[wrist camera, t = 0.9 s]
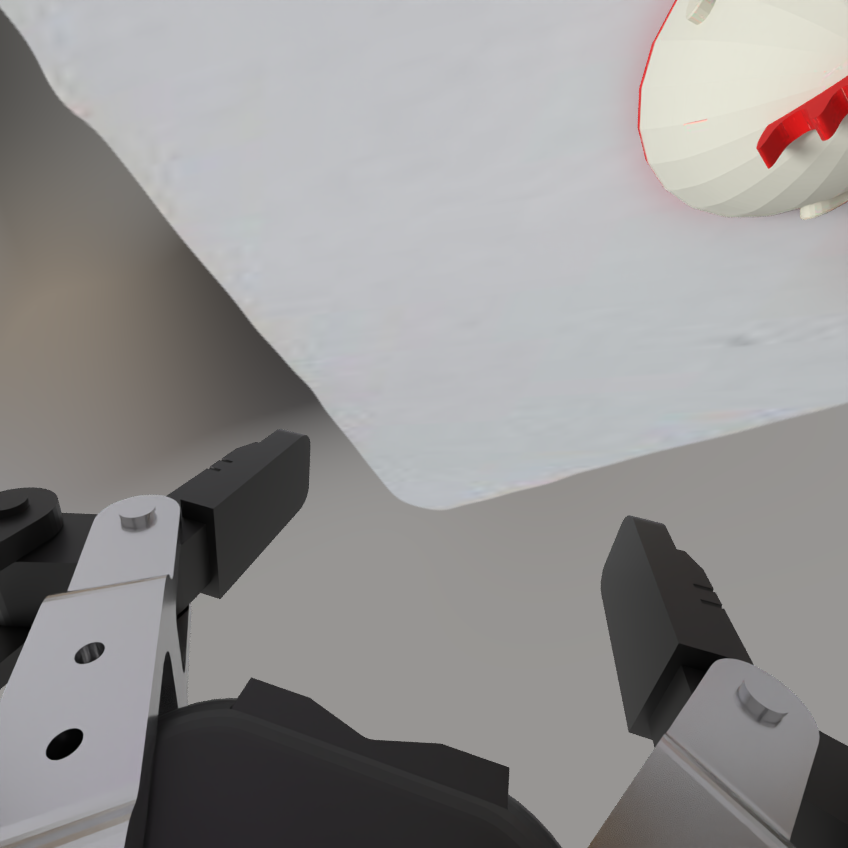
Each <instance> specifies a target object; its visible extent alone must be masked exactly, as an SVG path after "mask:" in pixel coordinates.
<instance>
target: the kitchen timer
mask: <svg viewBox="0 0 848 848" xmlns="http://www.w3.org/2000/svg"><path fill="white" fill-rule="evenodd" d="M638 131H639V135H640V139H641V143H642V147H643V151H644V155H645V159H646V161H647V163H648V164H649V166H650V167H651V169H652V170H653V172H654V173H655V175H656V176H657V178H658V179H659V181H660V182H661V184H662V185H663V187H664V188H665V189H666V190H667V191H669V192H670V193H671V194H673V195H674V196H676V197H677V198H678V199H680V200H681V201H683V202H684V203H685V204H687V205H688V206H690V207H692V208H694V209H698V210H702V211H705V212H709V213H713V214H716V215H720V216H723V217H764V216H772V215H776V214H780V213H784V212H788V211H791V210H795V209H799V208H800V218H801V219H803V220H806V219H811V218H815V217H818V216H821V215H823V214H825V213H828V212H830V211H832V210H833V209H835V208H837V207H839V206H841V205H842V204H844V203H846V202H847V201H848V0H675V2H674V4H673V6H672V8H671V9H670V11H669V13H668V15H667V17H666V19H665V21H664V23H663V25H662V27H661V28H660V30H659V32H658V34H657V36H656V38H655V40H654V42H653V44H652V46H651V50H650V53H649V57H648V60H647V64H646V67H645V71H644V74H643V77H642V81H641V84H640V88H639V108H638Z"/></svg>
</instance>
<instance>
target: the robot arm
mask: <svg viewBox="0 0 848 848" xmlns="http://www.w3.org/2000/svg"><path fill="white" fill-rule="evenodd" d="M309 467H310V439H309V437H308V436H307V435H303V434H299V433H295V432H291V431H287V430H283V429H279V430H276V431H275V432H274V433H272V434H271V435H269V436H268V437H267V438H265V439H264V440H262V441H261V442H260V443H258V442H255V443H252V444H249V445H246V446H243V447H240V448H237V449H235V450H234V451H232V452H231V453H229V454H228V455H226V456H225V457H223V458H222V460H221V461H220V460H219V461H217V462H216V463H215V464H213V465H212V466H210V469H206V470H204V471H203V472H201V473H200V474H198V475H197V476H195V477H194V478H192V479H191V480H189V481H188V482H187V483H185V484H183V485H182V486H181V487H179V488H178V489H176V490H175V491H173V492H172V493H170V494H169V495H167V496H162V495H140V496H134V497H130V498H127V499H123V500H120V501H118V502H115V503H114V504H111V505H109V506H108V507H106V508H105V509H103V510H102V511H101V512H100V513H99V514H74V513H61V509H60V505H59V501H58V498H57V496H56V494H55V493H54V492H52V491H50V490H47V489H42V488H18V489H11V490H6V491H2V492H0V689H1V688H2V687H3V686H5V685H6V684H7V686H6V688H5V691H4V693H3V695H2V698H1V700H0V848H561V846H560V845H559V843H558V842H557V841H556V840H555V838H554V837H553V836H552V834H551V833H550V832H549V831H548V830H547V829H546V828H545V826H543V824H542V823H541V822H540V821H539V820H538V819H537V818H536V817H535V816H534V815H533V814H532V813H531V812H530V811H528V810H527V809H526V808H525V807H524V806H523V805H522V804H521V803H519V802H518V801H516V800H515V799H514V798H512V797H511V796H510V795H508V785H509V783H508V782H509V767H506V766H503V765H500V764H498V763H495V762H492V761H489V760H486V759H483V758H480V757H477V756H475V755H472V754H469V753H466V752H463V751H460V750H457V749H454V748H452V747H449V746H446V745H443V744H436V743H418V742H401V741H383V740H371V739H368V738H365V737H363V736H362V735H360V734H359V733H357V732H356V731H355V730H353V729H352V728H350V727H349V726H348V725H346V724H345V723H344V722H342V721H341V720H340V719H338V718H337V717H335V716H334V715H333V714H331V713H330V712H329V711H327V710H326V709H324V708H323V707H322V706H320V705H319V704H317V703H316V702H315V701H313V700H312V699H311V698H308V697H305V696H303V695H300V694H297V693H294V692H291V691H288V690H285V689H283V688H279V687H277V686H274V685H271V684H268V683H265V682H263V681H260V680H257V679H253V678H251V679H250V680H249V682H248V683H247V685H246V686H245V688H244V689H243V691H242V692H241V694H240V695H239V697H238V698H226V699H214V700H208V701H203V702H198V703H194V704H191V705H188V671H189V653H190V634H191V633H190V632H191V617H192V609H191V602H192V601H193V600H194V599H195V597H197V595H198V594H199V593H203V594H206V595H209V596H212V597H215V598H219V599H221V598H222V597H223V595H224V594H225V593H226V592H227V591H228V590H229V589H230V588H231V586H232V585H233V584H234V583H235V582H236V581H237V580H238V579H239V577H240V576H241V575H242V574H243V573H244V572H245V571H246V570H247V568H248V567H249V566H250V565H251V564H252V563H253V562H254V561H255V559H256V558H257V557H258V556H259V555H260V554H261V553H262V552H263V550H264V549H265V548H266V547H267V546H268V545H269V544H270V543H271V541H272V540H273V539H274V538H275V537H276V536H277V535H278V534H279V532H280V531H281V530H282V529H283V528H284V527H285V526H286V525H287V523H288V522H289V521H290V520H291V519H292V518H293V517H294V516H295V514H296V513H297V512H298V511H299V510H300V509H301V507H302V505H303V504H304V502H305V500H306V497H307V493H308V489H309ZM601 594H602V599H603V604H604V609H605V614H606V620H607V625H608V630H609V635H610V640H611V644H612V650H613V655H614V660H615V665H616V670H617V675H618V680H619V685H620V690H621V695H622V701H623V705H624V711H625V715H626V720H627V726H628V730H629V732H630V733H633V734H636V735H639V736H642V737H645V738H648V739H651V740H653V743H654V747H655V748H654V750H653V752H652V753H651V754H650V756H649V757H648V759H647V760H646V762H645V763H644V765H643V766H642V768H641V769H640V771H639V772H638V774H637V775H636V777H635V778H634V780H633V781H632V783H631V784H630V786H629V787H628V789H627V790H626V791H625V793H624V794H623V796H622V797H621V799H620V801H619V802H618V803H617V805H616V806H615V808H614V809H613V811H612V812H611V814H610V815H609V817H608V818H607V820H606V821H605V823H604V824H603V826H602V827H601V829H600V830H599V832H598V833H597V835H596V836H595V838H594V839H593V841H592V842H591V843H590V845H589V847H588V848H848V746H847V745H845V744H843V743H841V742H839V741H837V740H835V739H833V738H832V737H830V736H828V735H826V734H824V733H822V732H821V731H819V730H818V727H817V724H816V722H815V720H814V718H813V716H812V714H811V713H810V711H809V710H808V709H807V707H806V706H805V705H804V704H803V703H802V701H801V700H800V699H799V698H798V697H797V696H796V695H795V694H794V693H793V692H792V691H791V690H790V689H789V688H788V687H787V686H785V685H784V684H783V683H782V682H780V681H779V680H778V679H776V678H775V677H774V676H772V675H770V674H769V673H767V672H766V671H764V670H762V669H760V668H758V667H757V666H754V665H753V663H752V661H751V659H750V657H749V655H748V653H747V651H746V649H745V648H744V646H743V644H742V642H741V640H740V638H739V636H738V634H737V632H736V631H735V629H734V627H733V625H732V623H731V621H730V619H729V617H728V616H727V614H726V612H725V610H724V609H722V604H721V602H720V600H719V598H718V596H717V595H716V593H715V592H713V587H712V585H711V584H710V582H709V579H708V578H707V576H706V574H705V572H704V570H703V569H702V568H701V567H700V566H699V565H698V564H697V563H696V562H695V561H694V560H693V559H692V558H691V557H690V556H689V555H688V554H687V553H686V552H685V551H681V550H677V549H676V547H675V545H674V543H673V541H672V539H671V537H670V535H669V533H668V531H667V528H666V526H665V525H664V524H662V523H658V522H654V521H650V520H646V519H642V518H638V517H633V516H627V517H625V519H624V520H623V522H622V524H621V527H620V529H619V531H618V534H617V537H616V539H615V541H614V543H613V546H612V548H611V551H610V553H609V556H608V558H607V560H606V563H605V565H604V569H603V572H602V579H601Z"/></svg>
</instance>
